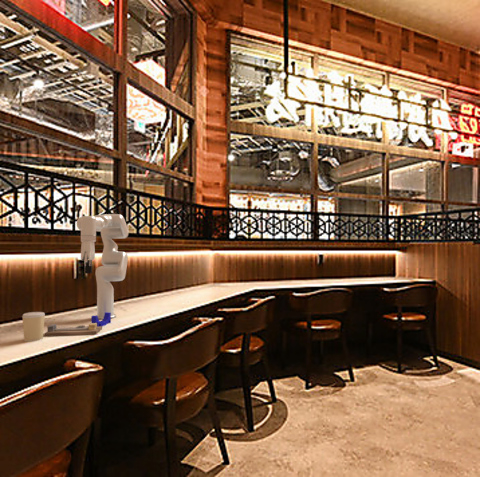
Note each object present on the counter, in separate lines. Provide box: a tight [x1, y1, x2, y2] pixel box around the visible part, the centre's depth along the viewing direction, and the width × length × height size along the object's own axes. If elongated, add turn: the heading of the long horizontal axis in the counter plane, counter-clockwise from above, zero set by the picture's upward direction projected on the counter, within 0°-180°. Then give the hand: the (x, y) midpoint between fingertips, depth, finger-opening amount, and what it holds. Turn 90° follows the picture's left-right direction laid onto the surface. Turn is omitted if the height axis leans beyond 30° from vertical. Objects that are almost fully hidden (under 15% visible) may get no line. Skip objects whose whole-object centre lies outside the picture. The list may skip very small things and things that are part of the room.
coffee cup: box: [21, 311, 46, 342], centre depth 173 cm, size 9×9×12 cm
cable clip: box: [90, 312, 112, 327], centre depth 204 cm, size 12×4×6 cm, turn 160°
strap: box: [55, 324, 89, 331], centre depth 186 cm, size 16×5×1 cm, turn 97°
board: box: [44, 323, 103, 337], centre depth 186 cm, size 12×24×4 cm, turn 97°
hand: (88, 273), depth 197 cm, fingers closed
